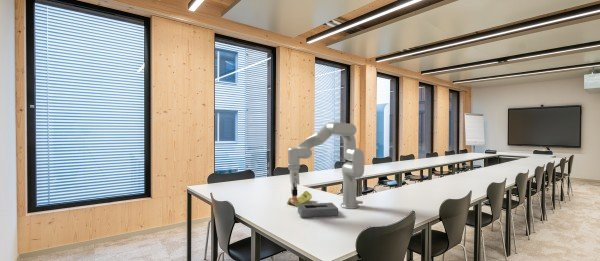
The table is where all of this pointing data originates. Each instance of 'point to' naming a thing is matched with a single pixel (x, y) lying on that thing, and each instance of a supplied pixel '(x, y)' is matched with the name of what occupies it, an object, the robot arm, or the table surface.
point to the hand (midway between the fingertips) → (294, 194)
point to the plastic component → (302, 198)
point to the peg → (294, 199)
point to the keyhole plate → (317, 210)
